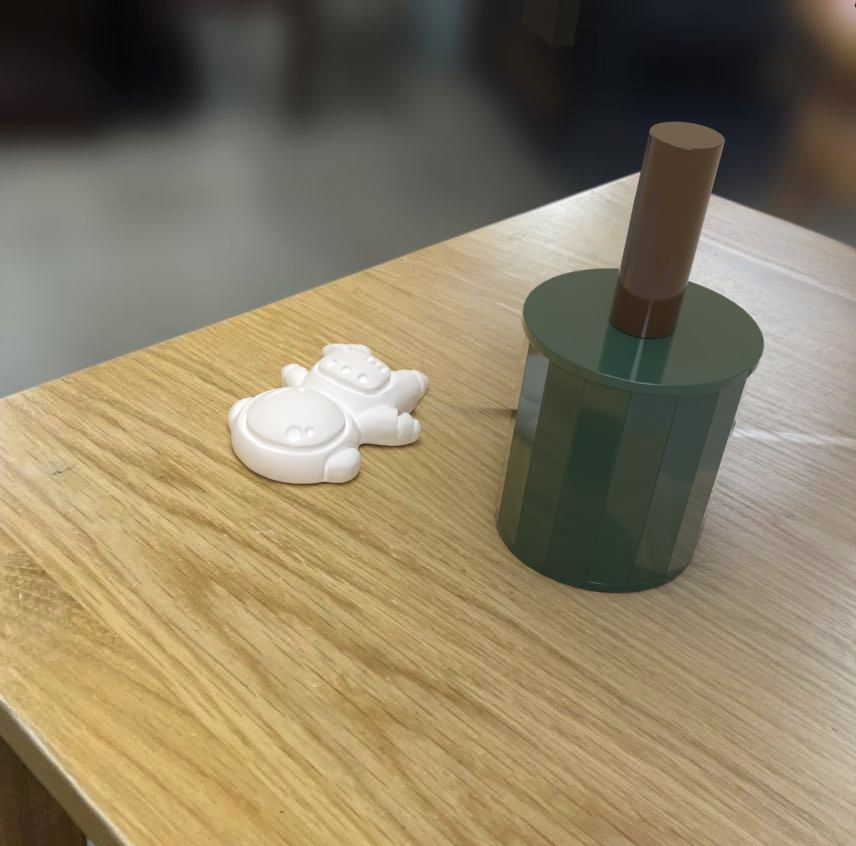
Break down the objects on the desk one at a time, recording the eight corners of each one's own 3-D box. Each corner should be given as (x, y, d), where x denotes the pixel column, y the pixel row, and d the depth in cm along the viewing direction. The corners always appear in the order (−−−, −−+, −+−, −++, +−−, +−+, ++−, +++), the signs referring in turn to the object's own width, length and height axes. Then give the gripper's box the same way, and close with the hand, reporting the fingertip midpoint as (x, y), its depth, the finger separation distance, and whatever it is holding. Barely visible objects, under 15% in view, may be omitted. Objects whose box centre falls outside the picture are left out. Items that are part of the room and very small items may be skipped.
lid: (733, 299, 56) (791, 99, 50) (780, 419, 48) (854, 198, 42) (514, 281, 56) (546, 80, 50) (524, 398, 48) (564, 176, 43)
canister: (679, 478, 62) (732, 290, 55) (710, 601, 55) (776, 401, 48) (492, 462, 62) (524, 273, 56) (498, 583, 55) (535, 382, 48)
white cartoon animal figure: (465, 416, 65) (472, 367, 63) (306, 508, 58) (309, 456, 57) (347, 353, 70) (350, 305, 68) (186, 431, 63) (185, 380, 61)
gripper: (1208, -780, 36) (948, -17, 50) (408, -885, 31) (359, 8, 44) (1450, -835, 31) (1083, 41, 44) (526, -975, 25) (428, 79, 38)
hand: (721, 26), depth 44 cm, fingers open, 13 cm apart
